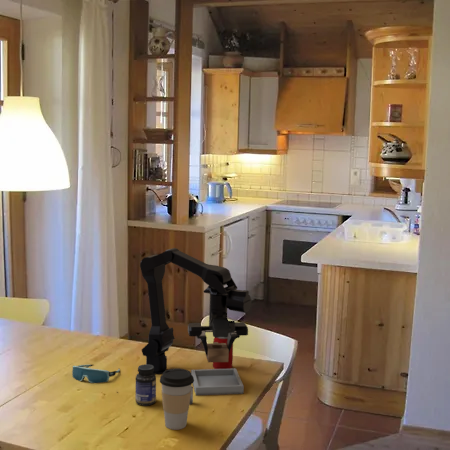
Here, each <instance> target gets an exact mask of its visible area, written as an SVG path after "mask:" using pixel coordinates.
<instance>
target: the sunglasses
mask: <svg viewBox="0 0 450 450" xmlns="http://www.w3.org/2000/svg"><path fill="white" fill-rule="evenodd" d="M89 366H90V367H89ZM92 366H93V364H80V365H73V366H72V371H71V372H72V377H73V379H75V380H76V381H78V382H83V381H84V380H85V378H86V379H87V380H88V383H91V384H100V383H107V382H109V380H110V377H114V376H116V374H118V373H120V371H121V370H120V368H119V367H118V369H117V370H114V371H110V370H109V371H108V370H106V369H98V368H97V369H96V368H91V367H92Z"/></svg>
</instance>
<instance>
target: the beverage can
mask: <svg viewBox="0 0 450 450" xmlns="http://www.w3.org/2000/svg"><path fill="white" fill-rule="evenodd" d="M227 340H228V337H225V338H224V337H218V338H215V337H214V338H213V342H218V343H226V345H227ZM213 342H212V343H213ZM233 356H234V343H233V344H232V347H231V349H230V352H229V357H228V362H212V369H233V361H234V360H233Z"/></svg>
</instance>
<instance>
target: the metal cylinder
mask: <svg viewBox="0 0 450 450" xmlns="http://www.w3.org/2000/svg"><path fill="white" fill-rule="evenodd" d="M193 401H194V386H193V385H191V396H190V404H189V406H191V405H193V404H194V402H193Z"/></svg>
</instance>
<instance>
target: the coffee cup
mask: <svg viewBox="0 0 450 450" xmlns="http://www.w3.org/2000/svg"><path fill="white" fill-rule="evenodd" d="M193 382H194V377H193V376H192V375H191V370H188V369H186V368H180V367H179V368H177V367H176V368H170V369H167V370H165V371H164V372H163V374H162V375H161V376H160V377H159V383H160V384H161V399H162V410H163V415H164V424H165V425H164V427H166V428H167V429H170V430H176V431H178V430H183V429H184V428H186V426H187V423H188V415H189V409H190V405H191V404H190V396H191V386H192V385H193ZM189 404H190V405H189Z"/></svg>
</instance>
